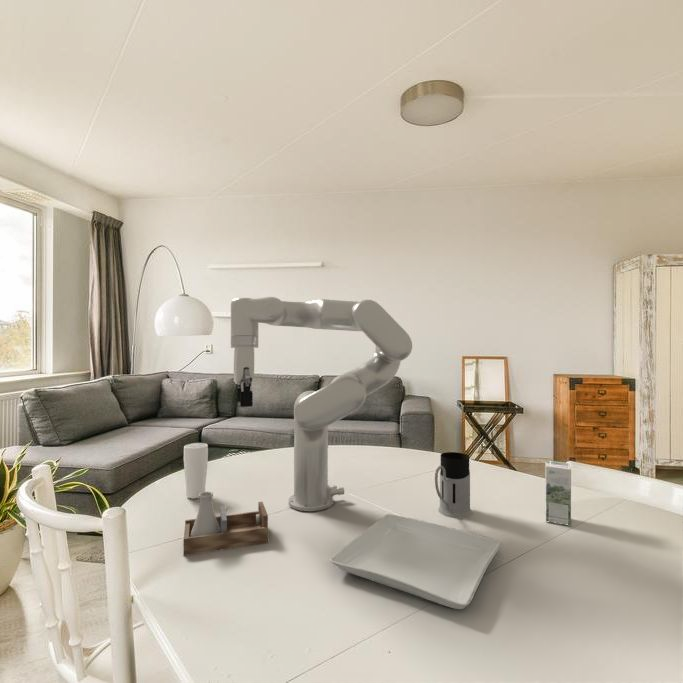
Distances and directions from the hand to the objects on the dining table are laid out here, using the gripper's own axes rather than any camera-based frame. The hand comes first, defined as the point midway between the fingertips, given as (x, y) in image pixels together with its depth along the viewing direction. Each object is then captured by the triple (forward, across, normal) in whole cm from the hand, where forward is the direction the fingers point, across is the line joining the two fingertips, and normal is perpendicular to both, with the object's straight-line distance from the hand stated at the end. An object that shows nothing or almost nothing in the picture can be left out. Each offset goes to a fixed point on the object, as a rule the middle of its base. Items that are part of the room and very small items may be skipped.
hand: (244, 404), depth 118 cm
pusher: (+27, +19, -6) cm, 34 cm away
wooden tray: (+28, +19, -6) cm, 35 cm away
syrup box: (+28, +35, +75) cm, 88 cm away
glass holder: (+28, +23, +51) cm, 63 cm away
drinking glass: (+28, -12, -13) cm, 34 cm away
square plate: (+29, +43, +31) cm, 60 cm away
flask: (+28, +19, -10) cm, 35 cm away
